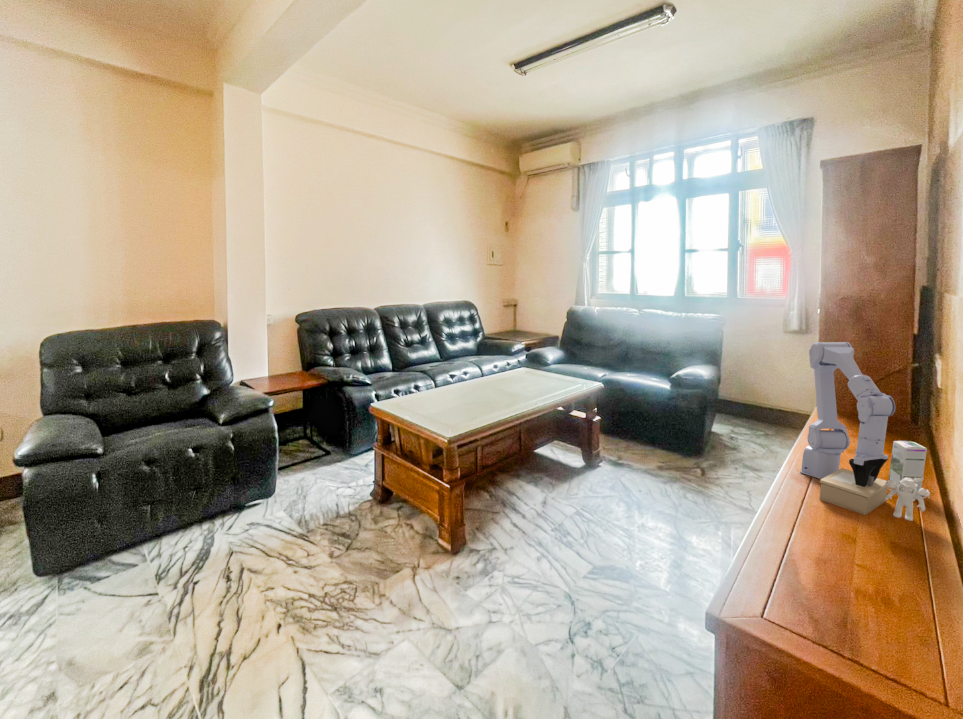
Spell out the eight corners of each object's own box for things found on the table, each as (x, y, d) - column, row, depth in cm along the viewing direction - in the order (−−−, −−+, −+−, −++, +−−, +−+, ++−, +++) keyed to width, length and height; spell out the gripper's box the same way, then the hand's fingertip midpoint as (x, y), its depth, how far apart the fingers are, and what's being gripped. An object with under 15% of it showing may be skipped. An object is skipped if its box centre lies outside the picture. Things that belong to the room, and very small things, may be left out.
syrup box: (921, 493, 136) (929, 447, 134) (898, 492, 138) (905, 446, 135) (908, 485, 142) (915, 440, 139) (886, 484, 143) (892, 440, 140)
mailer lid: (819, 482, 134) (820, 471, 133) (841, 470, 141) (843, 460, 141) (868, 497, 124) (870, 486, 123) (889, 484, 131) (891, 473, 131)
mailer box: (819, 499, 135) (821, 483, 134) (840, 487, 142) (842, 472, 141) (865, 515, 125) (867, 498, 124) (885, 501, 133) (887, 485, 132)
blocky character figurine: (926, 520, 122) (933, 478, 120) (924, 526, 119) (931, 483, 117) (882, 508, 129) (888, 468, 127) (879, 513, 126) (885, 472, 124)
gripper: (879, 447, 121) (872, 494, 123) (899, 436, 128) (893, 481, 131) (847, 439, 127) (841, 485, 129) (868, 429, 134) (863, 472, 137)
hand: (865, 482), depth 130 cm, fingers open, 6 cm apart
